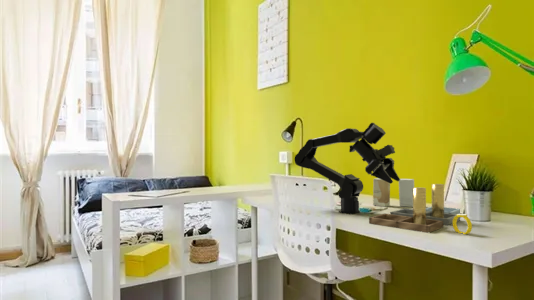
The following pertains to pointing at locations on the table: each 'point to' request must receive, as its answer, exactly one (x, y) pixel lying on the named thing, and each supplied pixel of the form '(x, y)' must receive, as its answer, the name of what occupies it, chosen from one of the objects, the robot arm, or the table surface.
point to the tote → (447, 210)
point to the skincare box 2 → (406, 192)
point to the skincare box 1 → (381, 193)
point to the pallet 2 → (427, 215)
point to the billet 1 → (419, 205)
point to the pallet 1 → (405, 222)
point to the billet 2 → (438, 200)
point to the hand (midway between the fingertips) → (395, 181)
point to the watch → (466, 221)
